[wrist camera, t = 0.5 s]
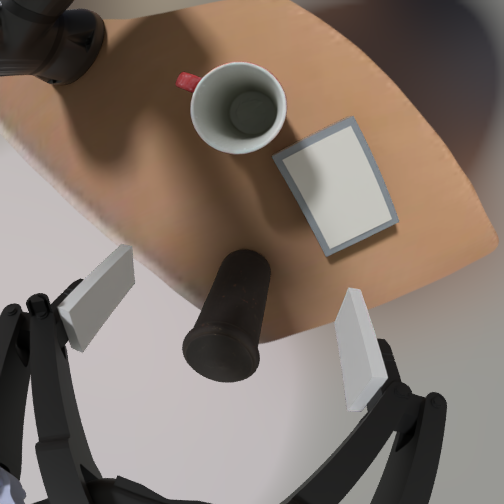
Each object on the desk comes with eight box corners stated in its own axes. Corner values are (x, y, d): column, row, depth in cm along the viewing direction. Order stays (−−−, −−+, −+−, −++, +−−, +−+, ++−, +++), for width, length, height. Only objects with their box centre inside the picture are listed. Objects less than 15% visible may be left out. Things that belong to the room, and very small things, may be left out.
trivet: (272, 154, 37) (271, 157, 34) (348, 116, 33) (353, 115, 30) (323, 248, 42) (326, 257, 39) (392, 214, 38) (400, 222, 35)
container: (209, 276, 47) (167, 364, 29) (237, 236, 43) (200, 319, 25) (252, 302, 48) (231, 397, 30) (283, 266, 44) (276, 361, 27)
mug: (300, 104, 34) (306, 93, 22) (263, 156, 37) (251, 172, 25) (222, 59, 32) (191, 32, 20) (189, 111, 36) (144, 109, 24)
